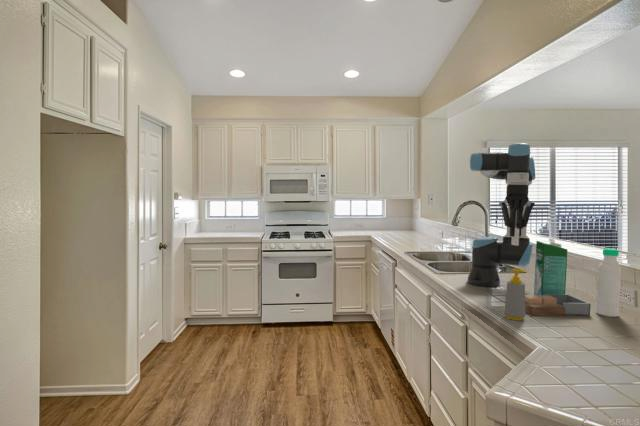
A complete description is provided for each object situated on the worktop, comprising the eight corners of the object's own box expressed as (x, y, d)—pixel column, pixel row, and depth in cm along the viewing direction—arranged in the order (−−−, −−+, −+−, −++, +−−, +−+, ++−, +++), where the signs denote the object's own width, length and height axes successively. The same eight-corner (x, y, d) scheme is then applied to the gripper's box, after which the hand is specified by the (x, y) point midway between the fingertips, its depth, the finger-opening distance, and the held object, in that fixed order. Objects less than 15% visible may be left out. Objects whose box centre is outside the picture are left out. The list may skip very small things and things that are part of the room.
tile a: (522, 299, 155) (522, 294, 154) (535, 300, 155) (535, 295, 154) (529, 303, 150) (529, 298, 149) (542, 303, 150) (542, 298, 149)
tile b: (536, 300, 155) (536, 295, 154) (549, 300, 154) (549, 295, 154) (543, 303, 150) (543, 298, 149) (556, 303, 149) (556, 298, 149)
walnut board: (513, 303, 160) (513, 296, 160) (542, 304, 160) (542, 296, 159) (532, 315, 145) (533, 307, 145) (564, 315, 145) (565, 307, 144)
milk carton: (564, 303, 161) (567, 243, 159) (541, 302, 163) (543, 243, 161) (556, 297, 170) (559, 241, 168) (533, 296, 171) (536, 240, 170)
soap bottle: (518, 322, 137) (520, 272, 136) (500, 316, 142) (502, 268, 141) (529, 319, 140) (531, 270, 139) (510, 313, 146) (513, 266, 145)
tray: (543, 304, 159) (544, 294, 158) (568, 305, 159) (568, 294, 158) (563, 314, 146) (563, 303, 145) (589, 315, 146) (590, 303, 145)
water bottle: (612, 318, 142) (616, 251, 141) (591, 313, 149) (595, 248, 147) (622, 315, 146) (626, 249, 144) (601, 310, 152) (605, 247, 150)
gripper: (505, 183, 146) (502, 246, 147) (539, 184, 146) (537, 246, 147) (496, 184, 153) (493, 243, 155) (529, 184, 153) (526, 244, 154)
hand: (514, 244), depth 151 cm, fingers closed
